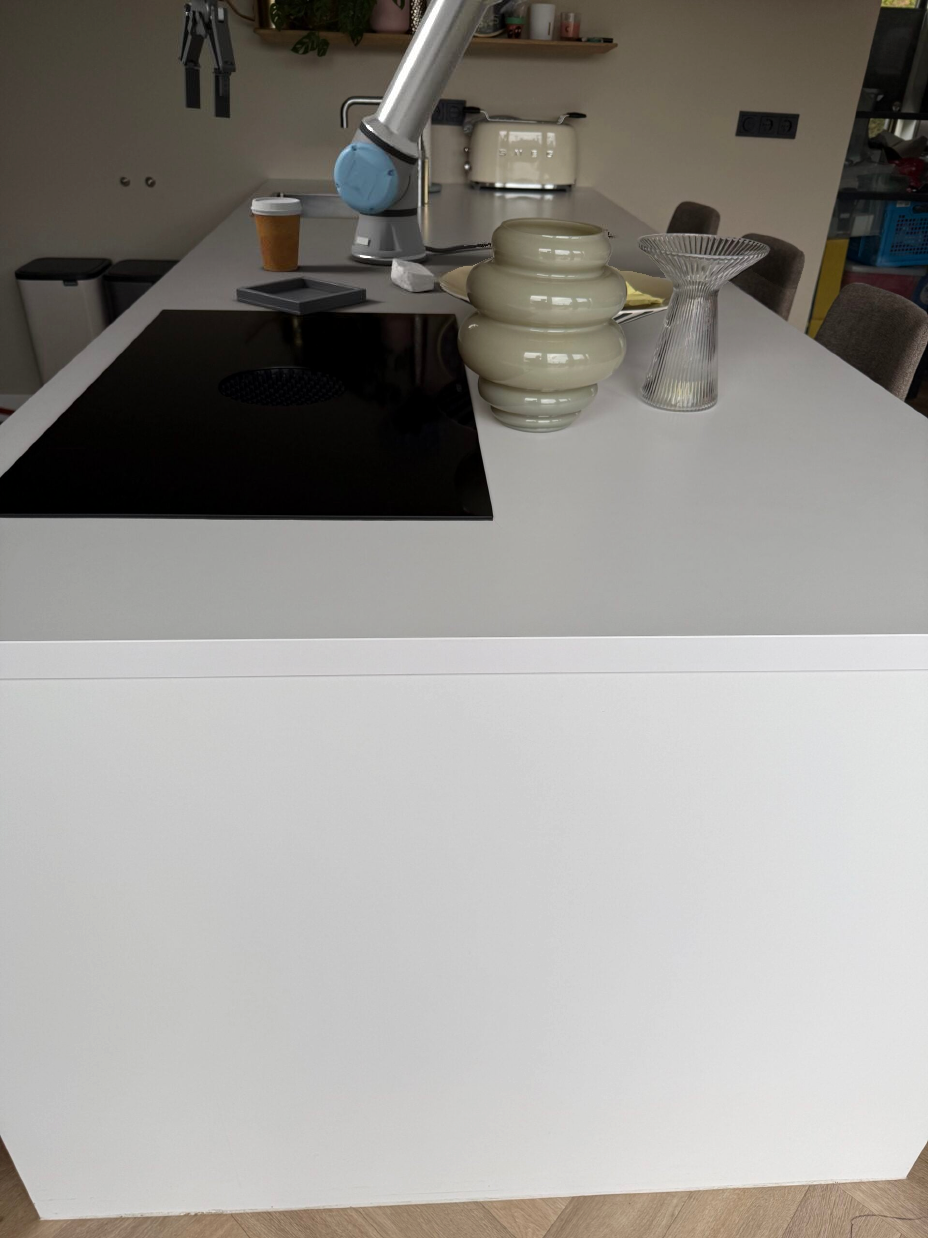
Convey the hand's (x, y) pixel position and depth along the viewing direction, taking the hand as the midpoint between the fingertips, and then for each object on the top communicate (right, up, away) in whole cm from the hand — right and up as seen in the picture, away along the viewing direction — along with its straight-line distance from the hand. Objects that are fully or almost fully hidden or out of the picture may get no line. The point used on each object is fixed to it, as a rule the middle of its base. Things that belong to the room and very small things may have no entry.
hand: (207, 112), depth 167 cm
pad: (+20, -40, -15) cm, 47 cm away
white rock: (+38, -33, -3) cm, 50 cm away
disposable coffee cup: (+12, -25, +9) cm, 29 cm away
